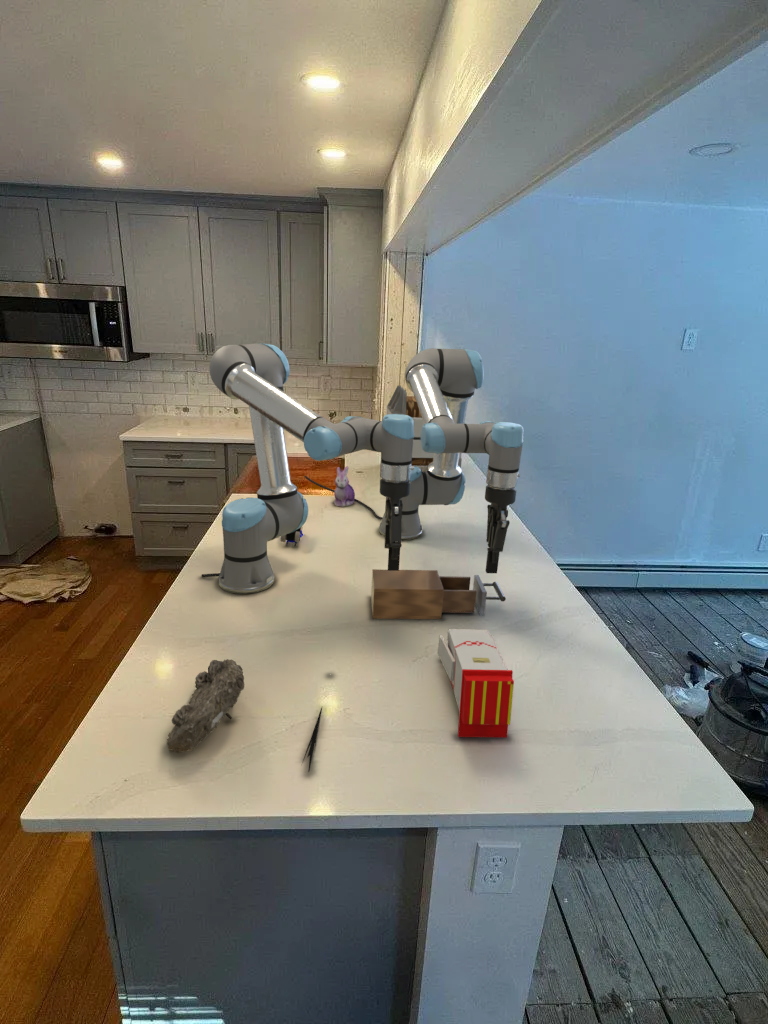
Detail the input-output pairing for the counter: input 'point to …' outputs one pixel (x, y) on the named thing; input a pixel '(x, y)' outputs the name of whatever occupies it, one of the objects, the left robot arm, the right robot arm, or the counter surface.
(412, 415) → the transformer
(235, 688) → the fossil
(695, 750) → the counter surface
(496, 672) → the toy
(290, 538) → the figurine character
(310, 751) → the feather
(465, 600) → the drawer
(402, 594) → the cabinet
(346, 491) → the figurine
